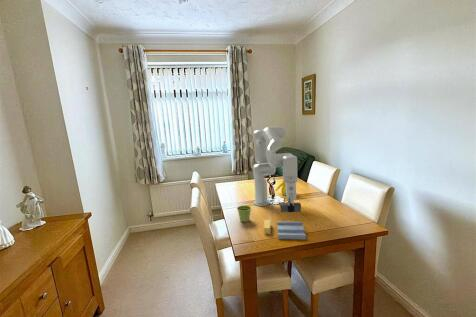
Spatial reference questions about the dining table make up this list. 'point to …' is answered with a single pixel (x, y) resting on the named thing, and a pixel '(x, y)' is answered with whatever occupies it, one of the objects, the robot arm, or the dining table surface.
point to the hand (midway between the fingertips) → (290, 210)
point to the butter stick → (267, 227)
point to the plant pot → (244, 213)
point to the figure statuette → (283, 189)
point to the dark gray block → (285, 207)
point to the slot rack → (291, 230)
